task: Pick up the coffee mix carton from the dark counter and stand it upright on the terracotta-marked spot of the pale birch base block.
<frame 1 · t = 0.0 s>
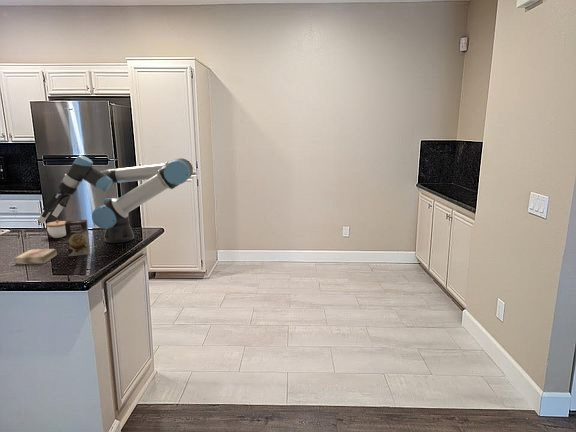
hand: (47, 218, 191), 15 cm above the countertop, tool tilted 35°, fingers open, 13 cm apart
coffee box: (79, 254, 186), on the countertop
base block: (37, 259, 178), on the countertop
lidded jar: (59, 236, 217), on the countertop
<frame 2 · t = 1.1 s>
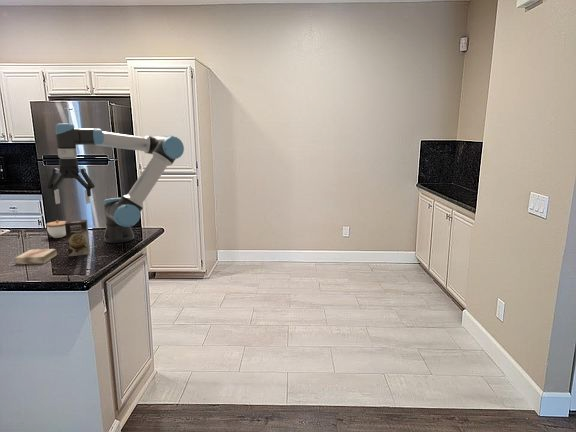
hand: (73, 203, 181), 25 cm above the countertop, tool pointing down, fingers open, 13 cm apart
nothing on the countertop moved.
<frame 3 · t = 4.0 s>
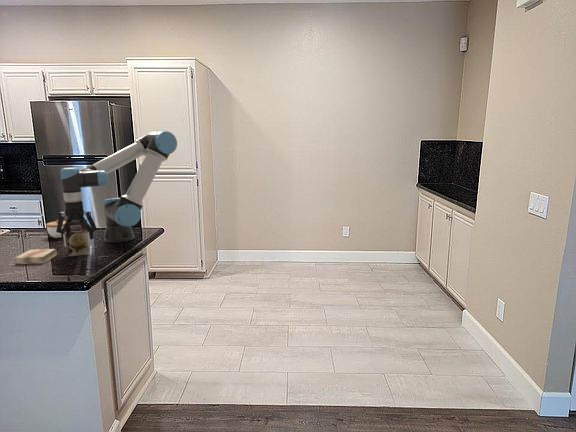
hand: (78, 246, 185), 4 cm above the countertop, tool pointing down, fingers closed on coffee box, 10 cm apart
coffee box: (79, 254, 186), on the countertop, touching gripper
everything else where it was.
when the fingers open (8 cm above the countertop, at t = 9.2 s): coffee box drops 1 cm, resting on base block.
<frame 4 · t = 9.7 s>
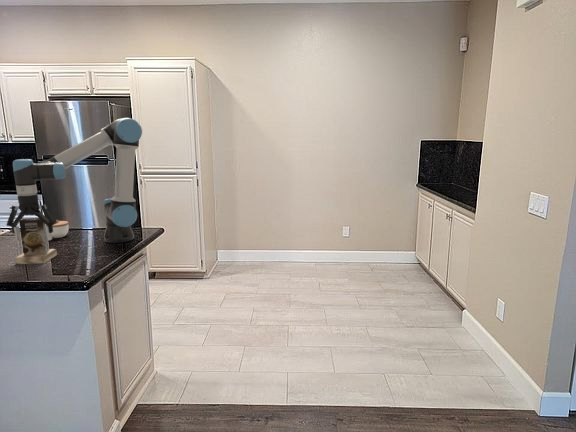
hand: (34, 240, 176), 9 cm above the countertop, tool pointing down, fingers open, 13 cm apart
coffee box: (37, 253, 177), point 3 cm above the countertop, touching base block
everything else where it was.
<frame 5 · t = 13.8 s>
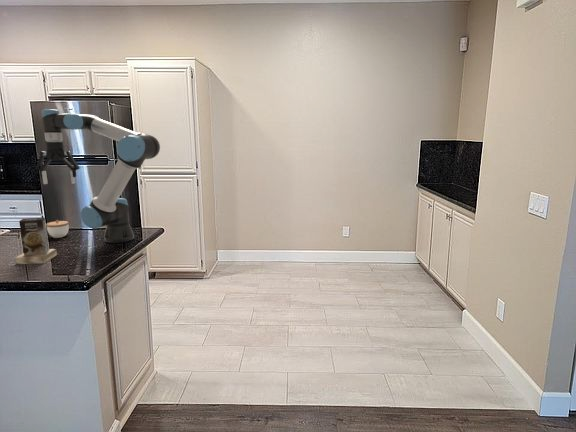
hand: (59, 183, 196), 32 cm above the countertop, tool pointing down, fingers open, 13 cm apart
nothing on the countertop moved.
at the end: coffee box 0.4 cm off-centre on the base block, point 2.9 cm above the base block's base; coffee box tilted 0°; the gripper is holding nothing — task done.
